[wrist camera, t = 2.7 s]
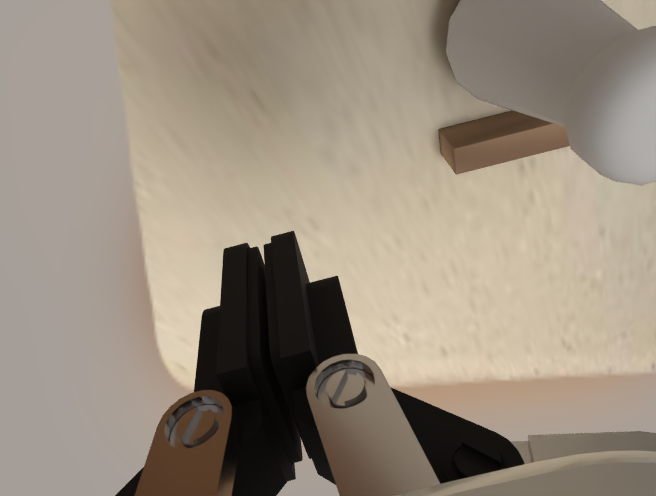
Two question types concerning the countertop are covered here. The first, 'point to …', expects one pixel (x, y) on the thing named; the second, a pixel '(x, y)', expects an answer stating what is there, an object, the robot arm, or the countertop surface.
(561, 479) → the robot arm
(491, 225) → the countertop surface
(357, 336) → the countertop surface
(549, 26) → the salt shaker
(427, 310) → the countertop surface
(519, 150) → the chute
